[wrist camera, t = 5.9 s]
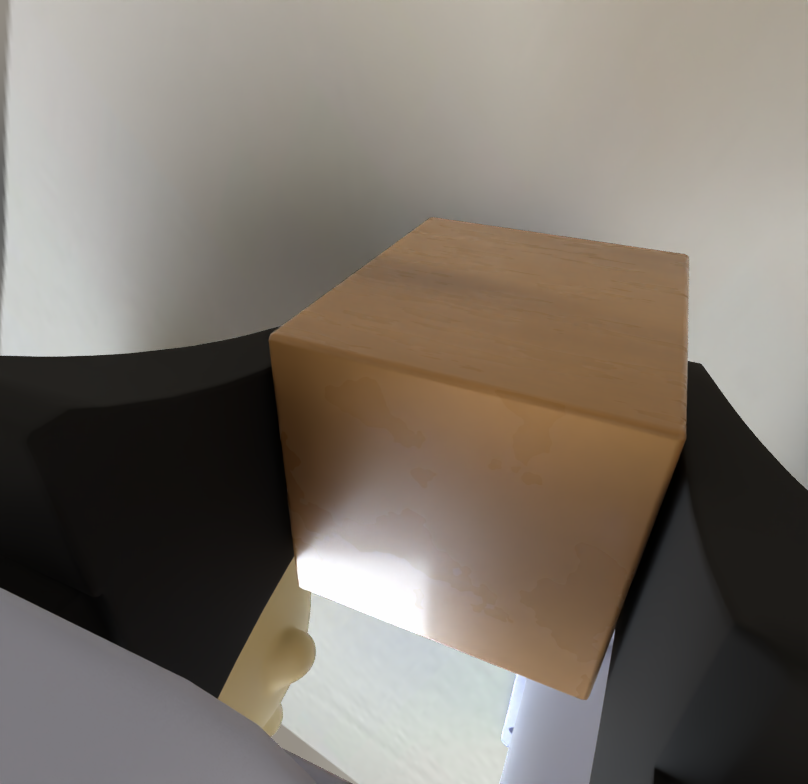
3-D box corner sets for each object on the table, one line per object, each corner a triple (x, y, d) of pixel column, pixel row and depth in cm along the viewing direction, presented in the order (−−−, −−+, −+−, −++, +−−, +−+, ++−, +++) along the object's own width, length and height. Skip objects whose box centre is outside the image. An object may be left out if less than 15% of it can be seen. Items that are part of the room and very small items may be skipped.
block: (624, 466, 12) (587, 705, 8) (420, 412, 13) (295, 589, 9) (690, 253, 9) (689, 435, 5) (429, 215, 11) (265, 334, 7)
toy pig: (315, 385, 24) (12, 364, 19) (394, 676, 16) (-90, 763, 11) (266, 522, 30) (25, 531, 25) (306, 784, 22) (-37, 872, 17)
